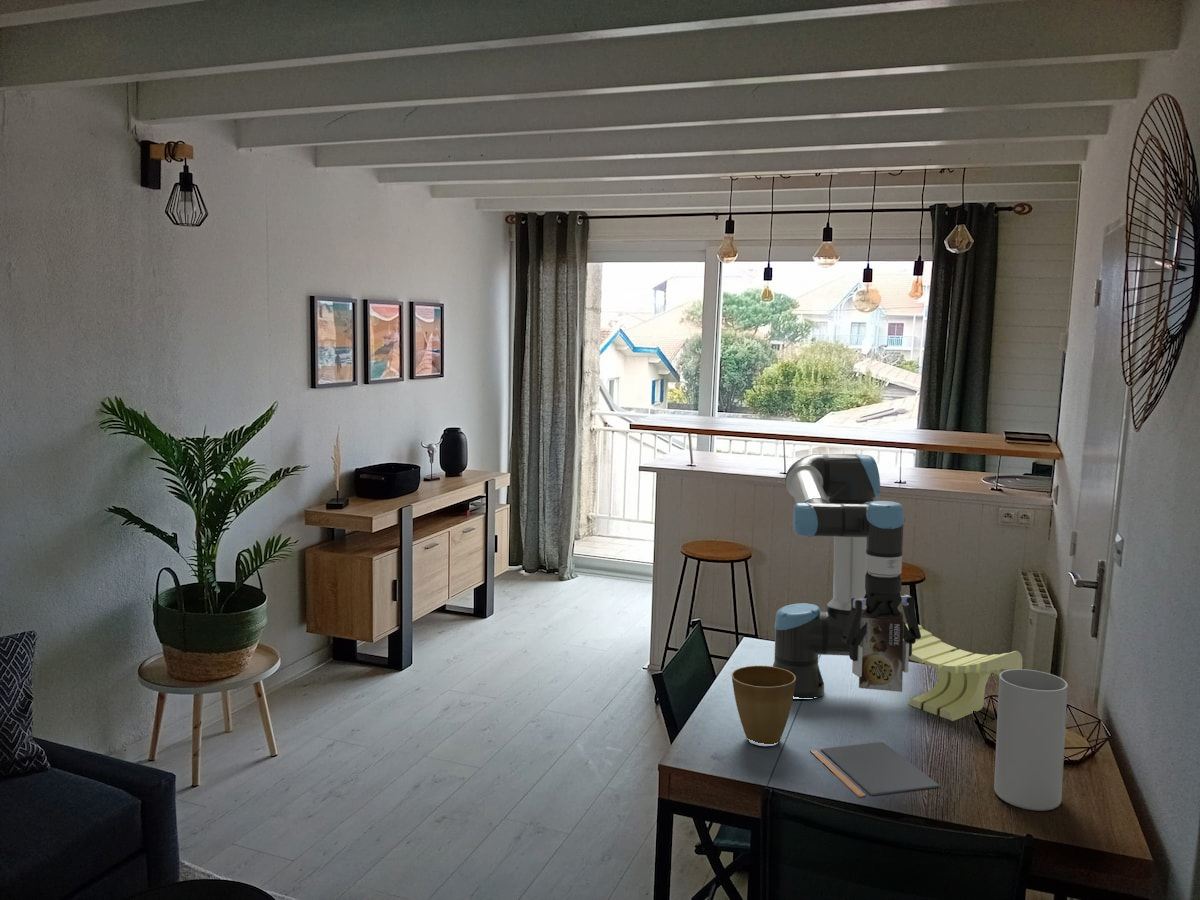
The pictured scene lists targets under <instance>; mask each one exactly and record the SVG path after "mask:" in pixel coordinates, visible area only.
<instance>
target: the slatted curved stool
mask: <svg viewBox="0 0 1200 900" xmlns="http://www.w3.org/2000/svg"><path fill="white" fill-rule="evenodd" d="M905 624H906V626H907V628H908V625H907V623H905ZM918 626H919V630H920V634H921V638H920V639H916V642H915V643H914V644H912V655H911V656H909V660H910V661H913V662H916V663H920V664H924V665H926V666H929V667H932V668H935V669H936V672H937V677H938V679H937V682H936V684H935V685H934V686H933V687H932V688H931V689H930V690H928V691H926V692H924V693H923V694H919V695H918V696H915V697H912V698H911V699H910V701H909V702H908V703H907V705H908V706H911V707H914V708H916V709H919V710H923V712H924V711H925V712H927V713H930V714H932V715H935V716H937V715H939V717H941V718H943V719H946V720H949V721H951V722H954V721H956V720H959V719H961V718H964V717H965V716H966V717H967V716H968V715H970V714H974V713H973V711H974V710H975V711H976V712H978V711H982V709H983V707H984V704H985V691H986V685H987V682H988V680H989V678H990V675H991V674H993V675H996V676H999V674H1000V673H1001V672H1003V671H1006V670H1011V669H1023V656H1022V654H1021V652H1020V651H1019V650H1014V651H1011V652H1004V653H1003V652H1002V653H1001V654H981V653H973V652H971V651H967V650H963V649H960V648H959V649H957V647H955V646H953V645H950V644H948V643H945V642H944V641H942V639H940V638H938V637H936V636H934V635H933V633H932V632H930V631H928V630H926V629H924V628H923V626H922V625H921V624H918ZM908 630H909V629H908ZM903 640H904V639H903Z"/></svg>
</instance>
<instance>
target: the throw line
mask: <svg viewBox="0 0 1200 900" xmlns="http://www.w3.org/2000/svg"><path fill="white" fill-rule="evenodd" d="M815 750H816V751H812V752H816V753H813V754H815V756H816V757H817V758H818V759H819V760H820V761H821V762H820V761H819V760H818V759H817V758H816V757H815V756H814V757H815V758H816V759H817V760H818V761H819V762H820V763H821V764H823V763H824V764H825V765H826V766H827V767H828V768H829V769H830V770H831V771H832V772H833V773H834V776H835V777H836V778H838V779H839V780H840V781H841V782H842V783H843V784H845V786H846V787H847V788H849V790H850V791H852V793H854V794H855V795H856V796H857V797H858V798H862V797H866V794H865V793H864V792H863V791H862V790H861V789H860V788H858V787H857V786H856V785H855V784H854V783H853V782H852V781H851V780H850V779H849V778H848V777H847V776H846V775H844V774H843V773H842V772H841V771H840V770H839V769H838V768H836V767H835V766H834V765H833V764H832V763H831V762H830V761H829V760H828V759H827V758H826V757H825V756H823V754H821V753H820V752H819V751H818V750H817V749H815ZM813 754H812V755H813ZM816 754H817V755H816ZM824 764H823V765H824ZM825 765H824V766H825ZM826 766H825V767H826ZM827 767H826V768H827ZM828 768H827V769H828ZM829 769H828V770H829ZM830 770H829V771H830ZM831 771H830V772H831ZM832 772H831V773H832ZM833 773H832V774H833Z"/></svg>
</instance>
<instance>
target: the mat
mask: <svg viewBox="0 0 1200 900" xmlns="http://www.w3.org/2000/svg"><path fill="white" fill-rule="evenodd" d="M821 750H822V751H823V752H824V753H825V754H827V755H828V756H829V757H830V758H831V759H832V760H833V761H834V762H835V763H836V764H837V765H836V764H835V763H834V762H833V761H832V760H831V759H830V758H829V757H828V756H827V757H828V758H829V759H830V760H831V761H832V762H833V763H834V764H835V765H836V766H837V767H839V768H840V770H842V771H843V772H844V773H845V774H846V775H847V774H848V775H847V776H848V777H850V778H851V779H852V780H853V781H854V782H855V783H856V784H857V785H859V786H860V787H861V788H862V789H863V790H864V791H865V792H866V793H867V794H868V795H870V796H878V795H885V794H886V795H887V794H893V793H895V794H896V793H904V792H912V791H919V790H926V789H934V788H940V784H938V783H937V782H936V781H934V780H933V779H932V778H930V777H929V776H928V775H927V774H926V773H924V772H923V771H922V770H920V769H919V768H918V767H916V766H915V765H914V764H912V763H911V762H910V761H909V760H907V759H906V758H905V757H903V756H902V755H901V754H899V753H898V752H897V751H896V750H895V749H893V748H891V746H890V745H888V744H886V742H884V741H881V742H880V741H879V742H869V743H861V744H852V745H844V746H835V747H825V748H820V751H821ZM822 751H821V752H822ZM823 752H822V753H823ZM824 753H823V754H824ZM825 754H824V755H825Z"/></svg>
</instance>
